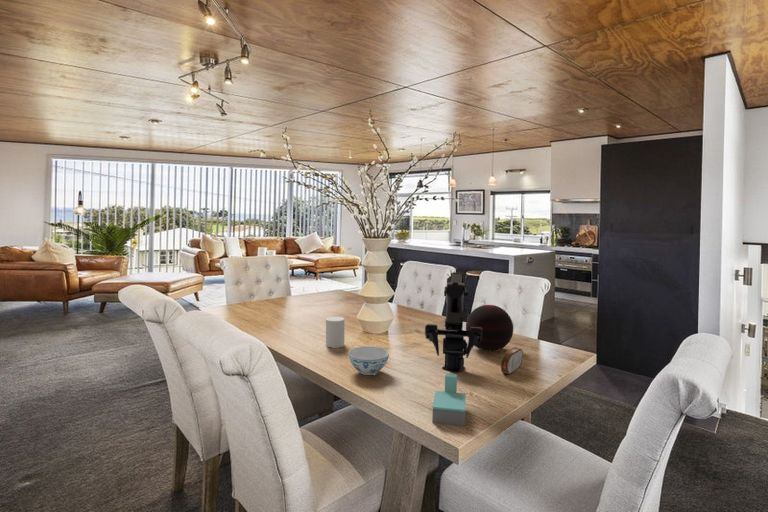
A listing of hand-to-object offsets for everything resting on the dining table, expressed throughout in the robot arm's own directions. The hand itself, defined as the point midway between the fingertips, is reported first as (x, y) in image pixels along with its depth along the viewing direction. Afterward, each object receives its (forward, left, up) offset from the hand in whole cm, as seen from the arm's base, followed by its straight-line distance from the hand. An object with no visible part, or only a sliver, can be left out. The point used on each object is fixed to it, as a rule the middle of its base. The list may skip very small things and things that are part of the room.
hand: (452, 356), depth 139 cm
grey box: (+8, -13, -13) cm, 20 cm away
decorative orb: (-16, +52, -14) cm, 56 cm away
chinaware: (-34, -4, -14) cm, 37 cm away
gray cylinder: (-68, +9, -14) cm, 70 cm away
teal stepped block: (+7, -11, -13) cm, 19 cm away
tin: (+3, +36, -14) cm, 38 cm away
